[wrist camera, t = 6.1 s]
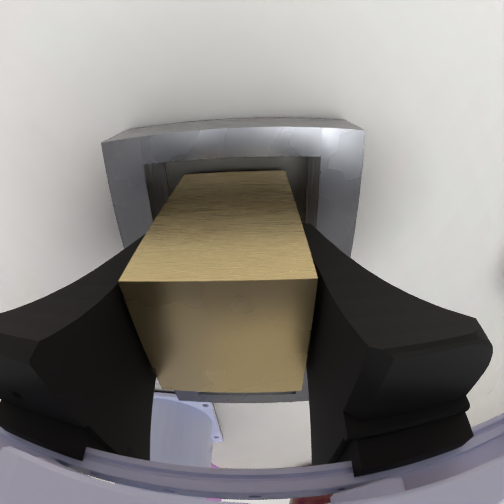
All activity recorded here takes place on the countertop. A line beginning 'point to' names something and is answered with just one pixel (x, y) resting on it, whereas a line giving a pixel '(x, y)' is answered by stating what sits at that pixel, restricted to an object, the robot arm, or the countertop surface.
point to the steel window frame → (230, 146)
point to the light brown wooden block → (225, 286)
